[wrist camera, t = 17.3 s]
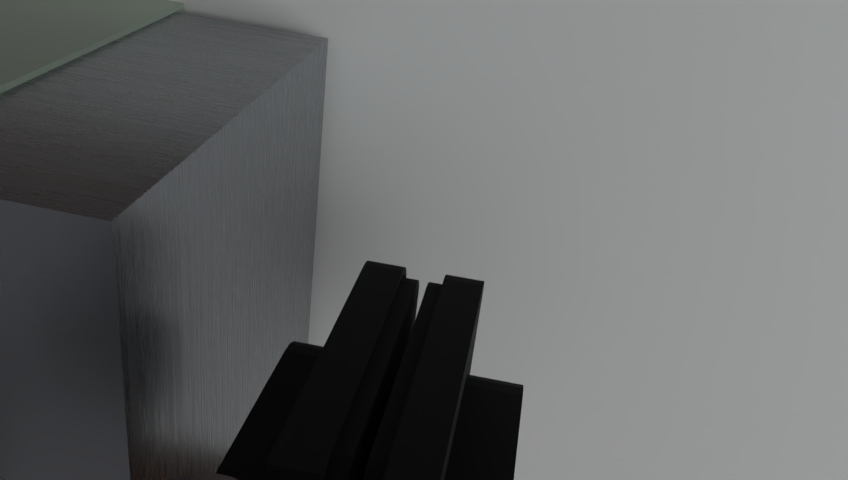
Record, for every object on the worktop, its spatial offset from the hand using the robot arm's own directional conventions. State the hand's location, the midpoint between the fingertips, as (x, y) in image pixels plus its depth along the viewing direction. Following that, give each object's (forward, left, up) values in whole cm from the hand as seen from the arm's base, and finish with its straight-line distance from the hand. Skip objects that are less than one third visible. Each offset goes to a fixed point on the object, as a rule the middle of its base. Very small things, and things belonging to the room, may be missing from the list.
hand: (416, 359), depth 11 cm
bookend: (0, -4, -3) cm, 5 cm away
